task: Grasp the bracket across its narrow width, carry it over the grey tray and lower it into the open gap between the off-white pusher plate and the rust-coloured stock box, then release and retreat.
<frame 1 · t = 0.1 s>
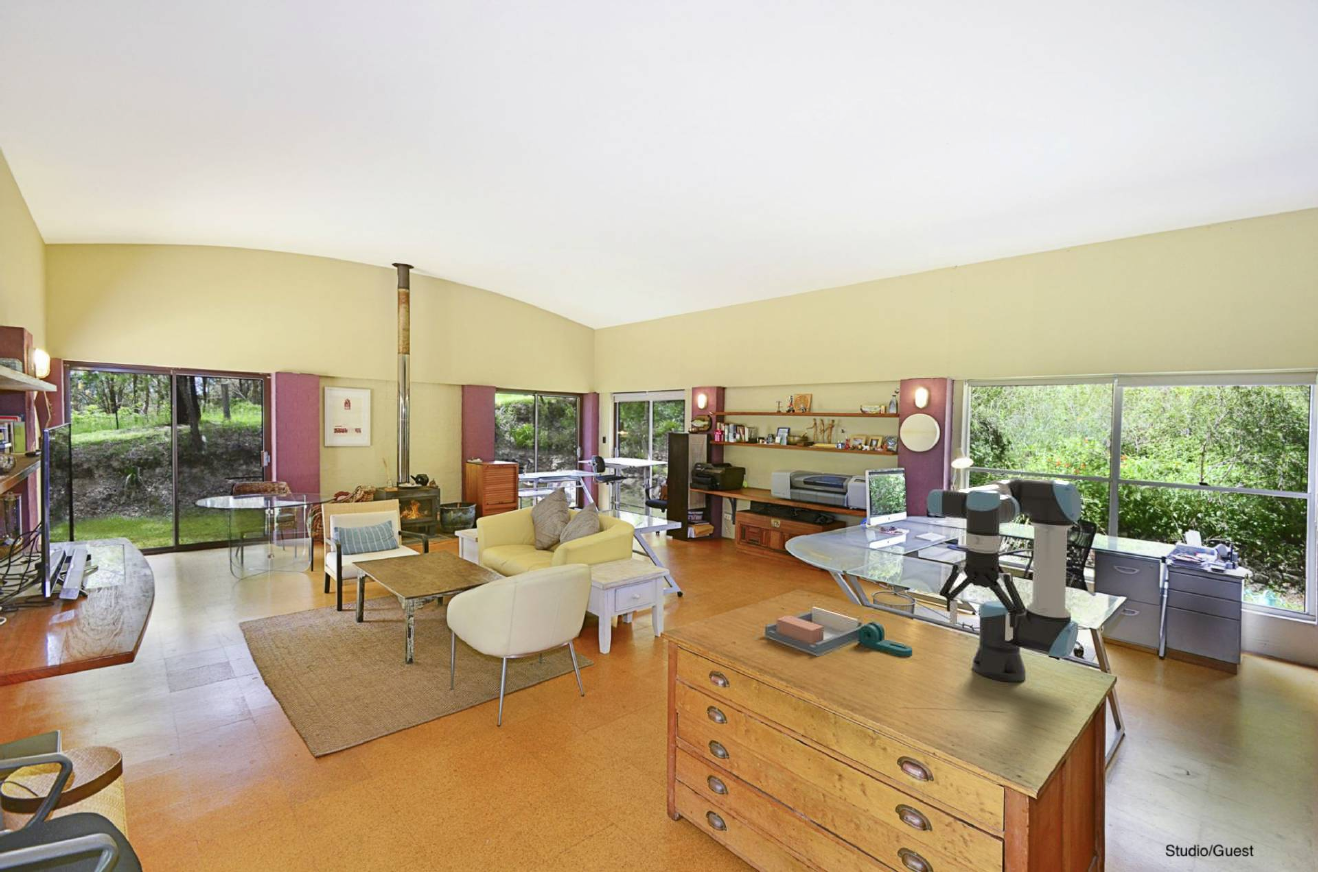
hand: (980, 631, 153), 28 cm above the table, fingers open, 13 cm apart
bracket: (886, 649, 214), on the table
grey tray: (815, 636, 225), on the table
stock box: (799, 642, 219), resting on grey tray
pusher plate: (834, 620, 233), point 4 cm above the table, slide at 0.0 cm
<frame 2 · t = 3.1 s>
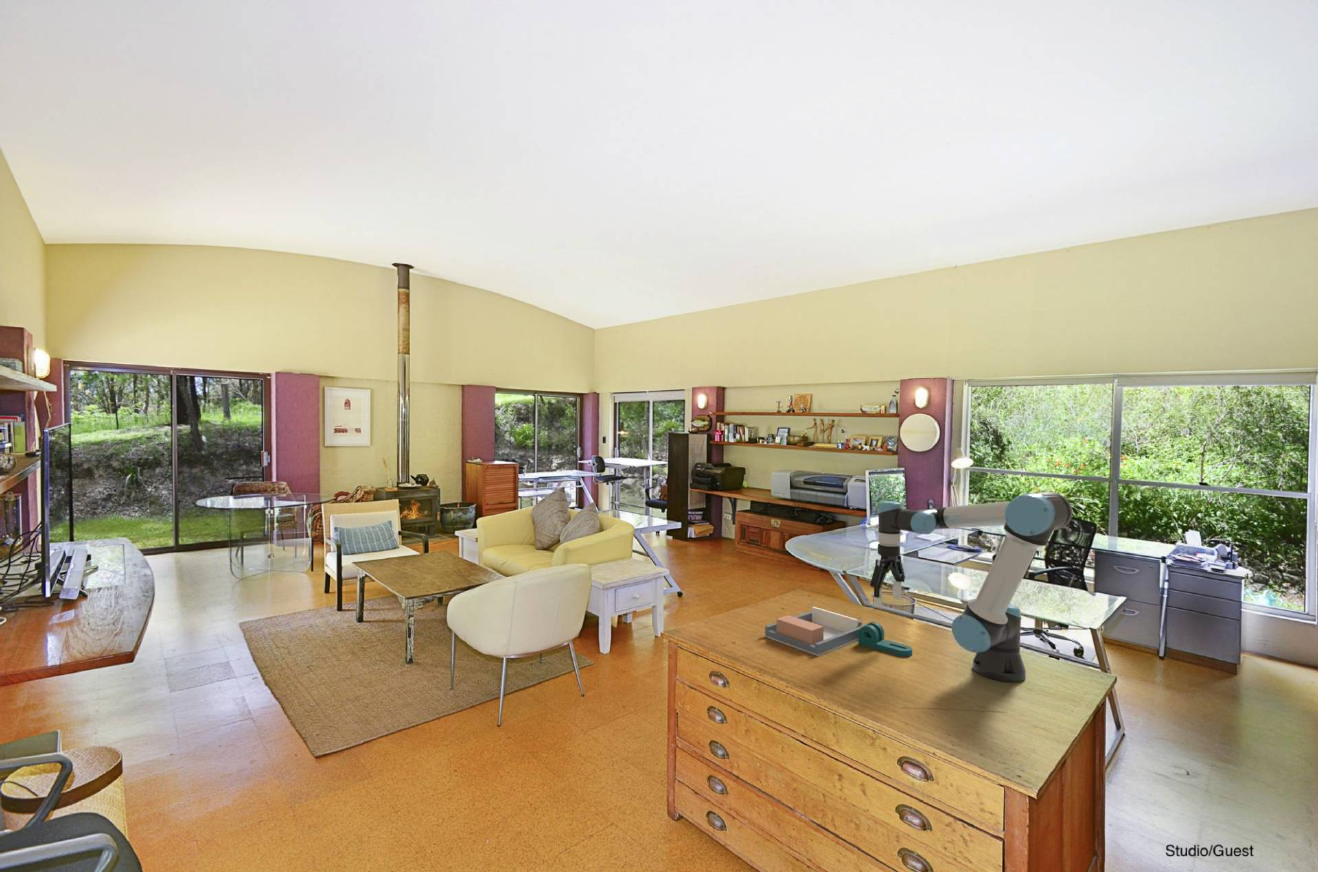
hand: (887, 602, 214), 17 cm above the table, fingers open, 13 cm apart
nothing on the table moved.
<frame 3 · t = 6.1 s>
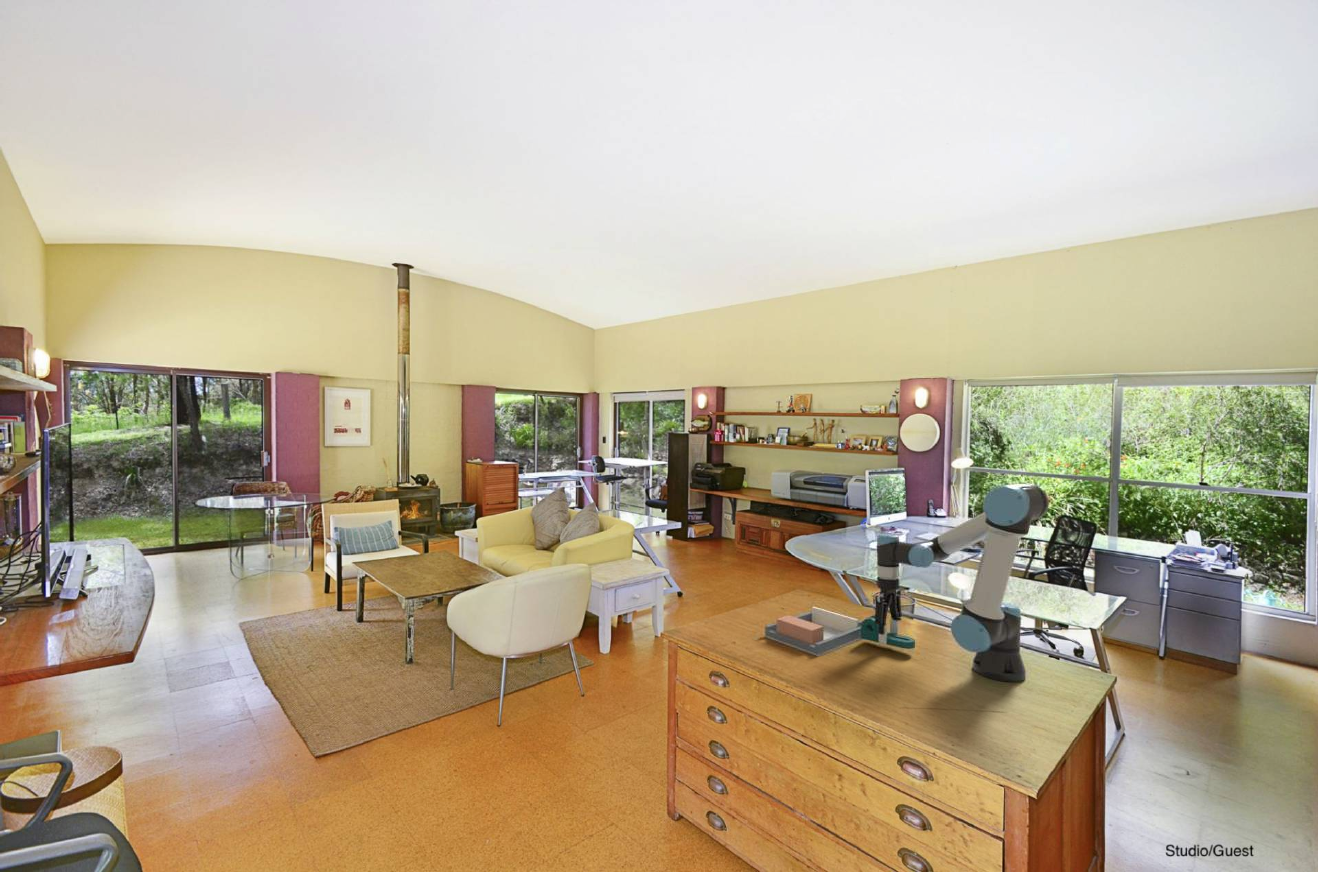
hand: (888, 640, 214), 3 cm above the table, fingers closed on bracket, 7 cm apart
bracket: (889, 642, 214), point 2 cm above the table, touching gripper
everything else where it was.
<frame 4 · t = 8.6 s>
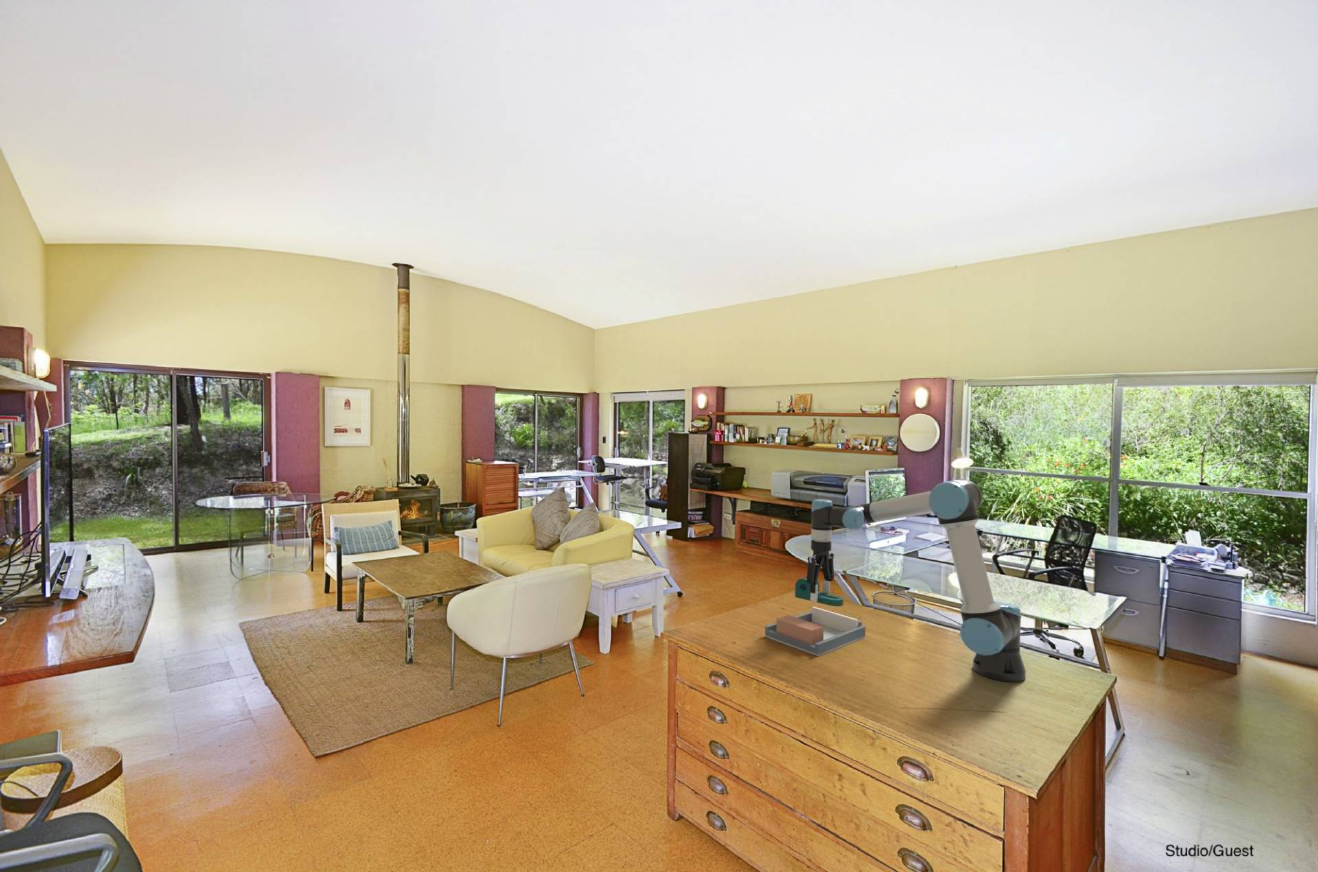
hand: (820, 599, 227), 14 cm above the table, fingers closed on bracket, 7 cm apart
bracket: (820, 600, 227), point 13 cm above the table, touching gripper
everything else where it was.
when the fingers open (2 cm above the table, at t = 11.1 s): bracket stays where it is, resting on grey tray.
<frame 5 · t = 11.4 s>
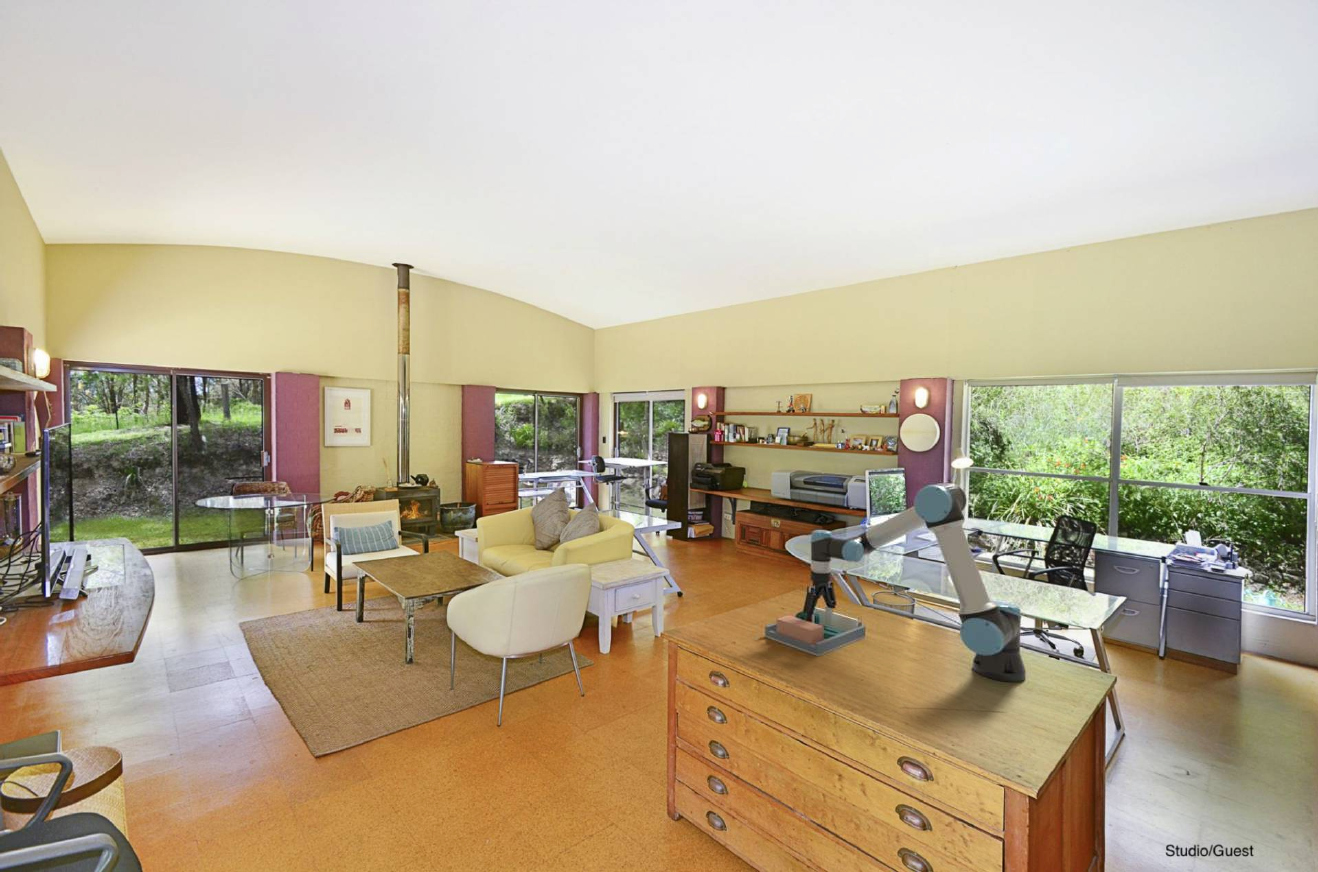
hand: (819, 627, 227), 3 cm above the table, fingers open, 11 cm apart
bracket: (820, 634, 227), resting on grey tray
everything else where it was.
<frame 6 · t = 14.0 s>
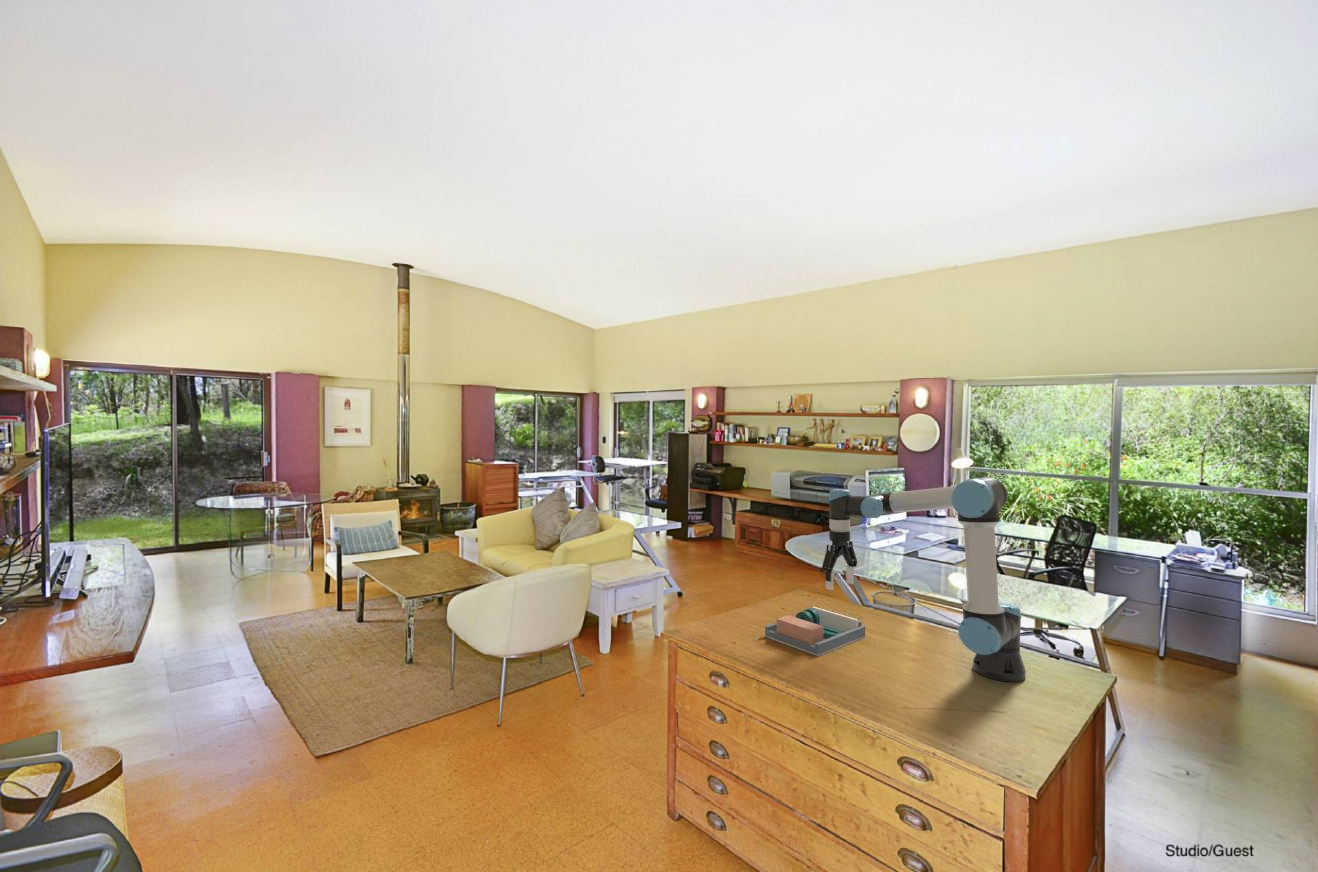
hand: (840, 586, 223), 20 cm above the table, fingers open, 13 cm apart
nothing on the table moved.
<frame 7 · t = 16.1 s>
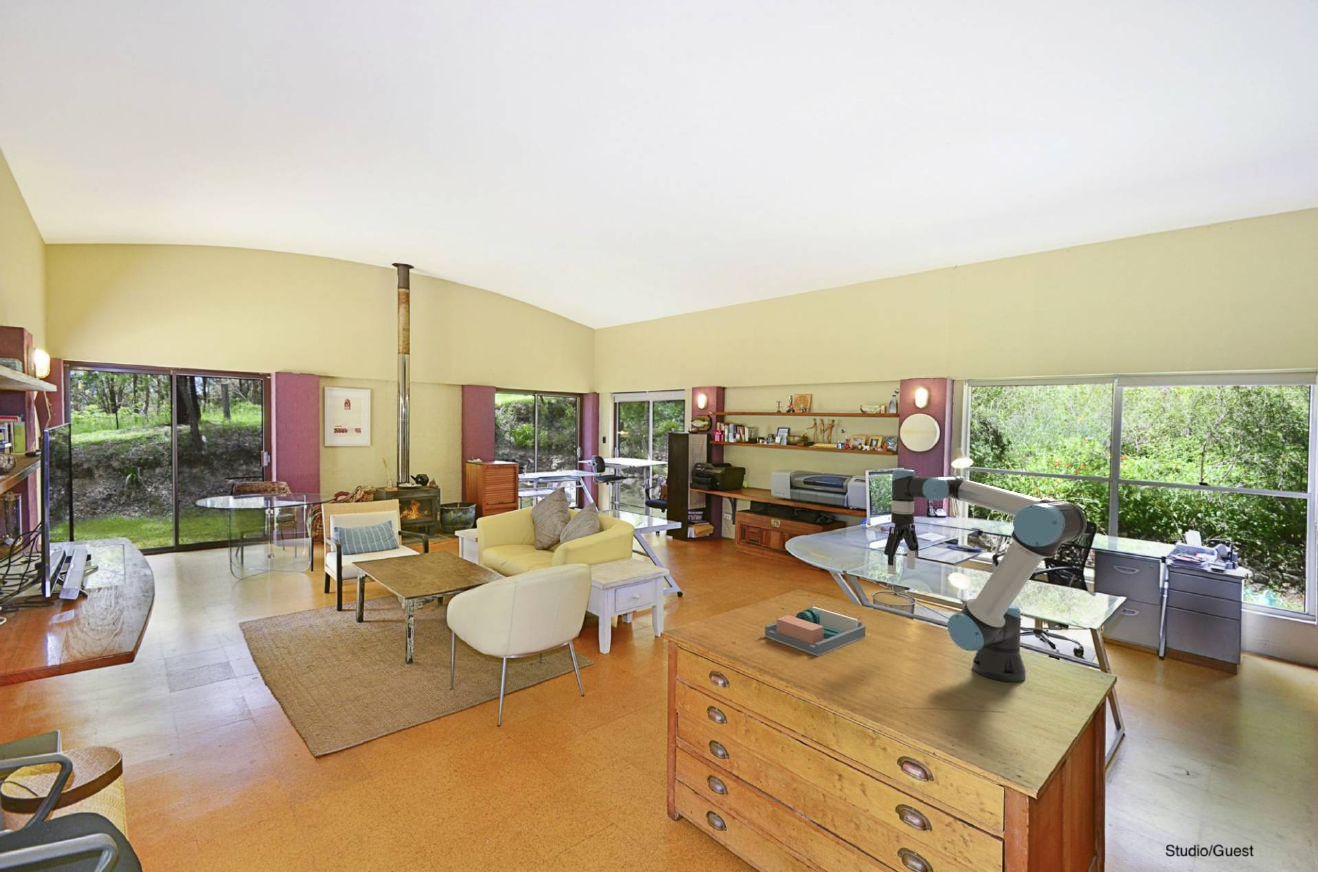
hand: (901, 571, 212), 29 cm above the table, fingers open, 13 cm apart
nothing on the table moved.
at the end: bracket inside the target area on the grey tray (0.5 cm from its centre), point 0.4 cm above the grey tray's base; bracket tilted 0°; the gripper is holding nothing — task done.
